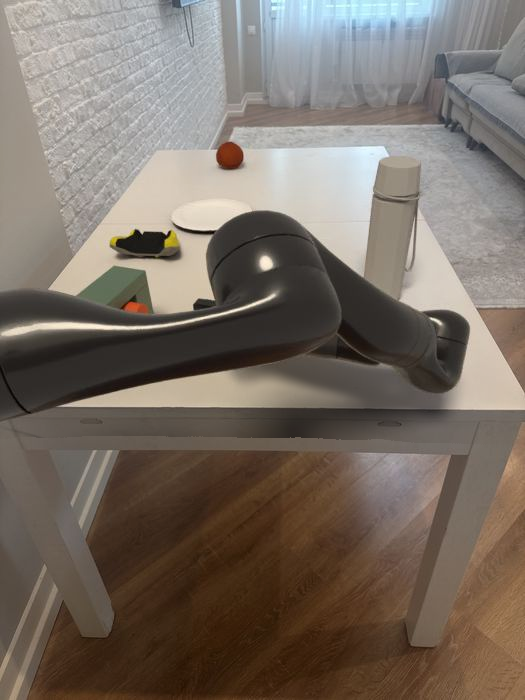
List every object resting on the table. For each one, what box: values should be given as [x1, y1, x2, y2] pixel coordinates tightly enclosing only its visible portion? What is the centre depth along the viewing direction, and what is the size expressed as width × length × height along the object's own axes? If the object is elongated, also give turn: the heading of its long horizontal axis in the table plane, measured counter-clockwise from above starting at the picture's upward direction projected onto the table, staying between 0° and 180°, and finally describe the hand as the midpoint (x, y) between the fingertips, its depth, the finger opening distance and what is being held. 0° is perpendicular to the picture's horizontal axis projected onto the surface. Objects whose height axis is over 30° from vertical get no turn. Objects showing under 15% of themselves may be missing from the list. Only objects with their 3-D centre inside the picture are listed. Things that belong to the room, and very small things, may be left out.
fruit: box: [215, 141, 245, 170], centre depth 157 cm, size 9×9×8 cm
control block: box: [75, 265, 155, 314], centre depth 79 cm, size 6×12×12 cm, turn 160°
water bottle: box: [363, 155, 423, 300], centre depth 85 cm, size 9×8×25 cm
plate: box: [170, 198, 254, 232], centre depth 125 cm, size 21×21×2 cm
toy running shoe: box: [109, 228, 180, 259], centre depth 109 cm, size 15×6×10 cm
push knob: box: [120, 301, 148, 314], centre depth 77 cm, size 3×4×4 cm
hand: (195, 306), depth 72 cm, fingers closed
